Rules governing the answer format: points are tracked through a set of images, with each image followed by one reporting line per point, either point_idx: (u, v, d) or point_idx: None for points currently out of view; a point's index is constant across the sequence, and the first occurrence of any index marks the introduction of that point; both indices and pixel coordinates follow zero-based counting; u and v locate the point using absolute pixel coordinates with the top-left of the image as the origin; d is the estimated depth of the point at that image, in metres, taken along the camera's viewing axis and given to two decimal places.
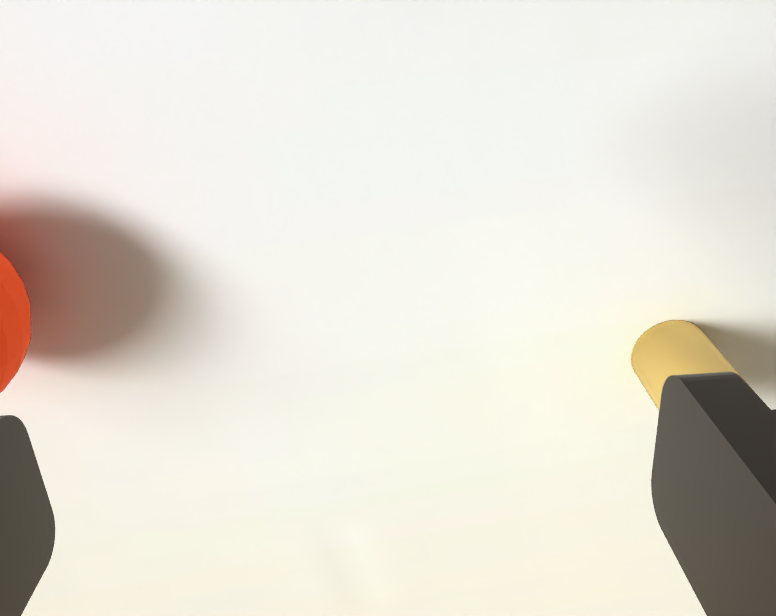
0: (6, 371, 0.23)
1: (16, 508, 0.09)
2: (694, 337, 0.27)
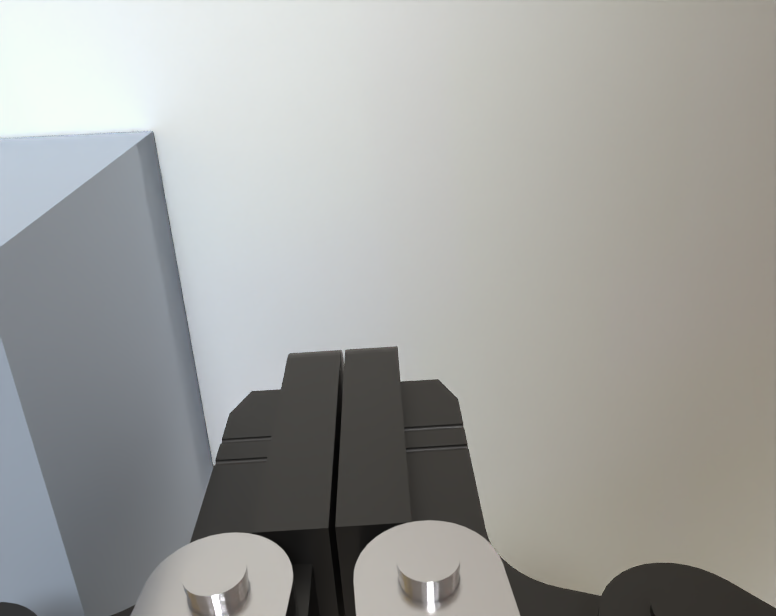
0: None
1: None
2: None
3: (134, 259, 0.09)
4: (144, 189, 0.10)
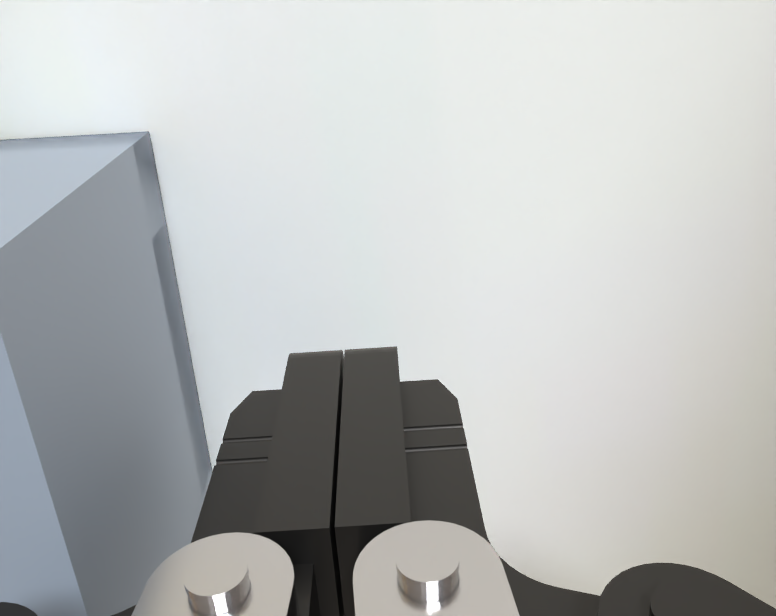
0: None
1: None
2: None
3: (132, 260, 0.09)
4: (141, 190, 0.10)
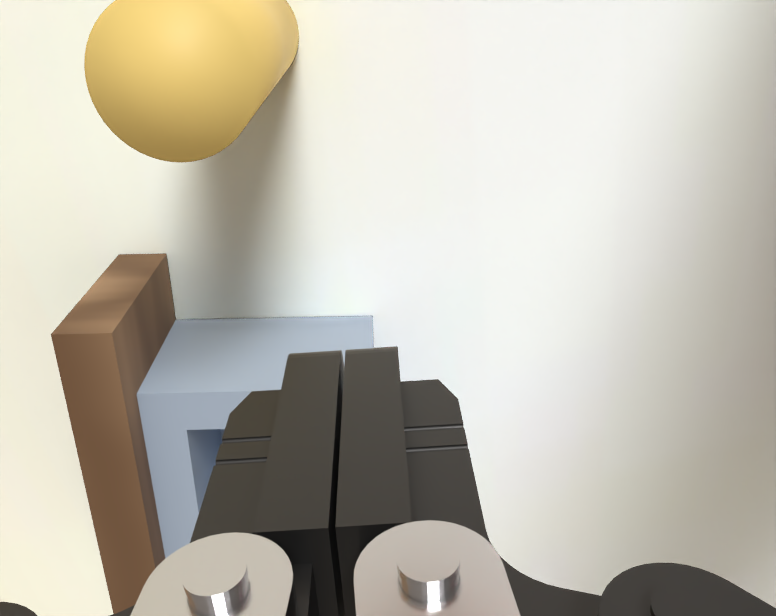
0: None
1: None
2: (295, 45, 0.21)
3: None
4: None
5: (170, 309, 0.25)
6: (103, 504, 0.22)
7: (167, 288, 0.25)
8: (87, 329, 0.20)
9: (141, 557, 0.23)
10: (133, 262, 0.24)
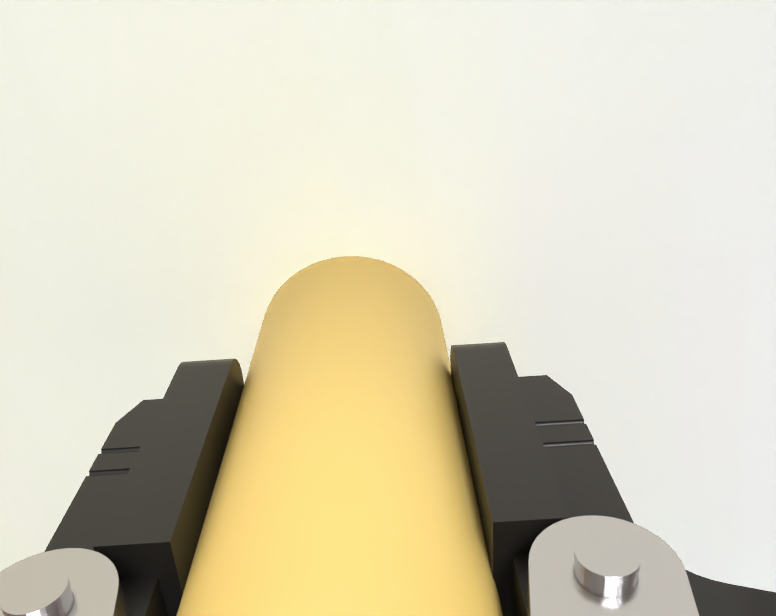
0: None
1: None
2: None
3: None
4: None
5: None
6: None
7: None
8: None
9: None
10: None
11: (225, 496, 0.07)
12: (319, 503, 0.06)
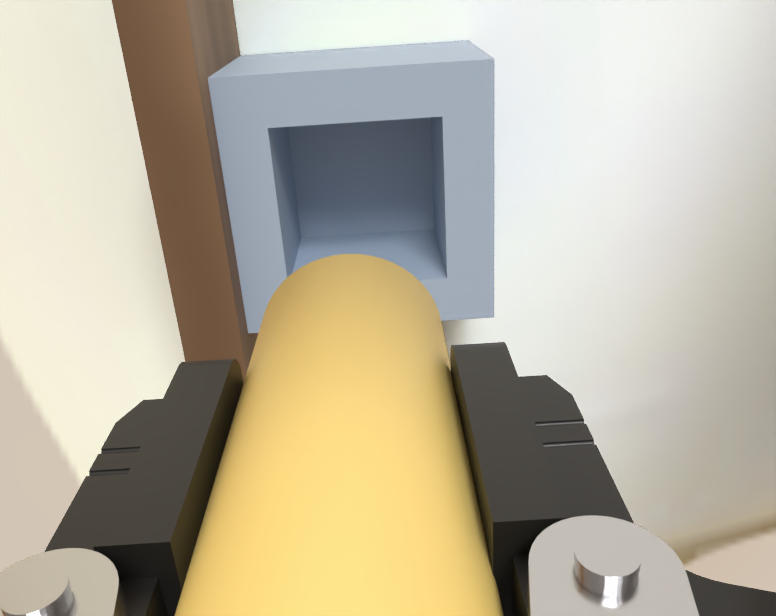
0: None
1: None
2: None
3: None
4: None
5: (234, 35, 0.22)
6: (174, 219, 0.18)
7: (231, 7, 0.21)
8: None
9: (220, 294, 0.19)
10: None
11: (225, 492, 0.07)
12: (319, 499, 0.06)
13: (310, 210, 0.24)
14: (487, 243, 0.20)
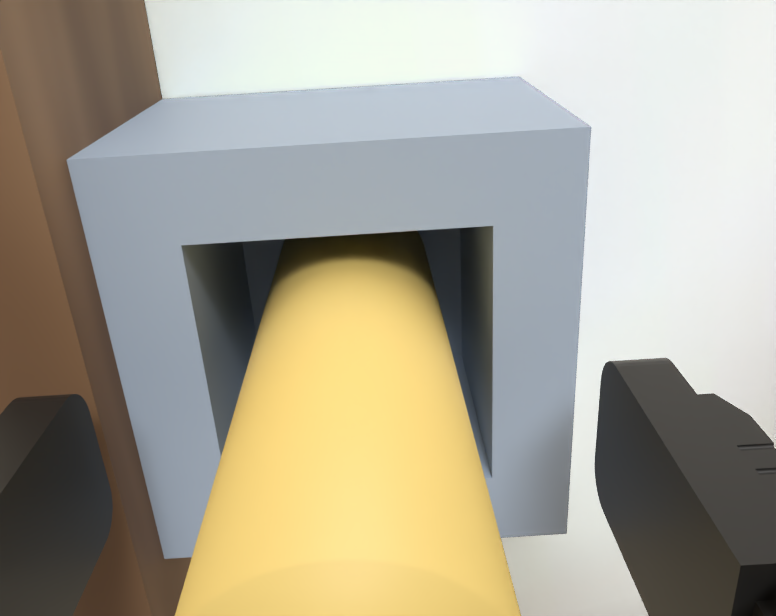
0: None
1: (81, 482, 0.09)
2: None
3: None
4: None
5: (149, 69, 0.14)
6: None
7: (141, 24, 0.13)
8: None
9: None
10: None
11: (268, 329, 0.10)
12: (339, 317, 0.09)
13: None
14: (562, 426, 0.12)
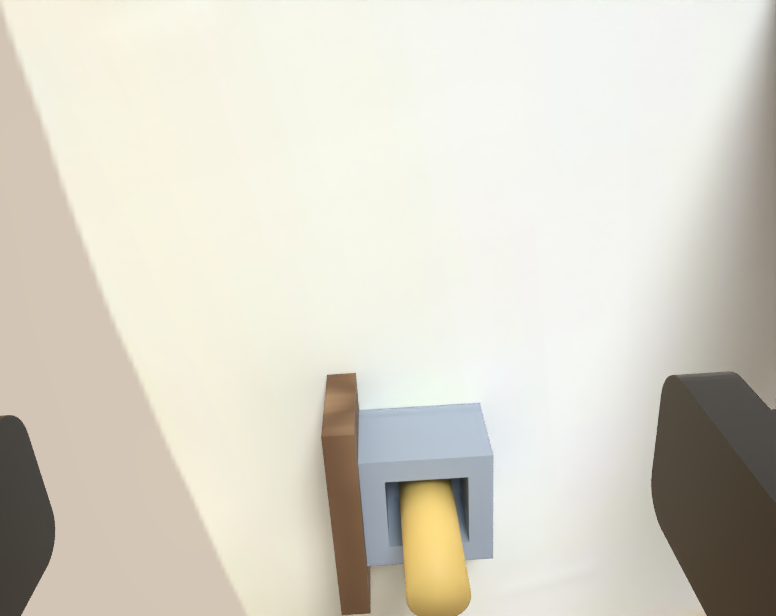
0: None
1: (16, 508, 0.09)
2: None
3: None
4: None
5: None
6: (340, 527, 0.38)
7: (357, 394, 0.41)
8: (338, 432, 0.36)
9: (358, 556, 0.39)
10: (339, 381, 0.40)
11: (409, 509, 0.38)
12: (429, 511, 0.37)
13: (393, 484, 0.43)
14: (489, 527, 0.40)
